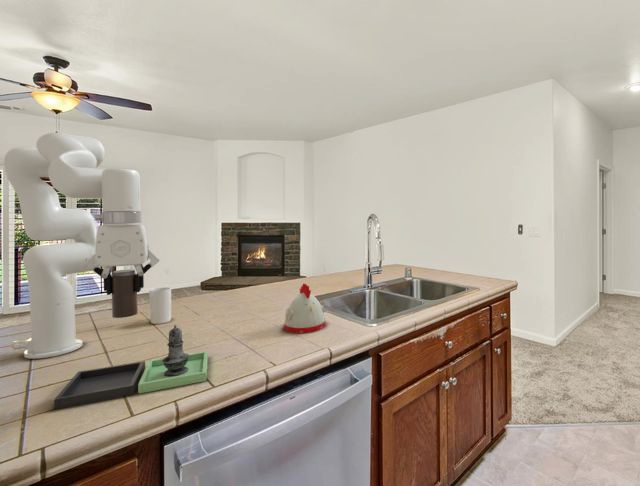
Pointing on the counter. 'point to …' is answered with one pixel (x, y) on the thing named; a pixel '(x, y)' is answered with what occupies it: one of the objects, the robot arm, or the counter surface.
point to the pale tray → (157, 380)
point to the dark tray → (100, 384)
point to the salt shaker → (175, 354)
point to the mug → (160, 305)
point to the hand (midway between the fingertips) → (124, 291)
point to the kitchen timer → (304, 313)
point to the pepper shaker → (124, 293)
